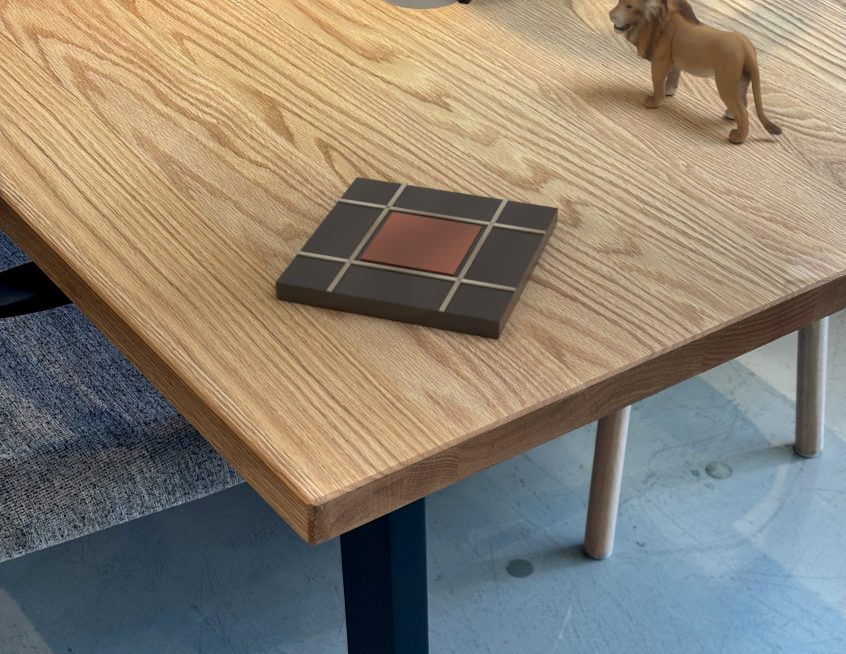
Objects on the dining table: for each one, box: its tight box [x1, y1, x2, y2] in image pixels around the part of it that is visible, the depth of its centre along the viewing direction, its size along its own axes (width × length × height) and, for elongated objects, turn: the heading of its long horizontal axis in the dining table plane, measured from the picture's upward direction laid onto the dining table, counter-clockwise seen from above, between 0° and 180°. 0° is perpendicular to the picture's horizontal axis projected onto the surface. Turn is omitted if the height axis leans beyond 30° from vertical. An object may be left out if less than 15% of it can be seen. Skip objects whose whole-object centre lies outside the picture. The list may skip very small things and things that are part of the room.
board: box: [274, 176, 559, 339], centre depth 83 cm, size 14×14×1 cm
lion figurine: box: [608, 0, 783, 143], centre depth 96 cm, size 15×5×9 cm, turn 50°
